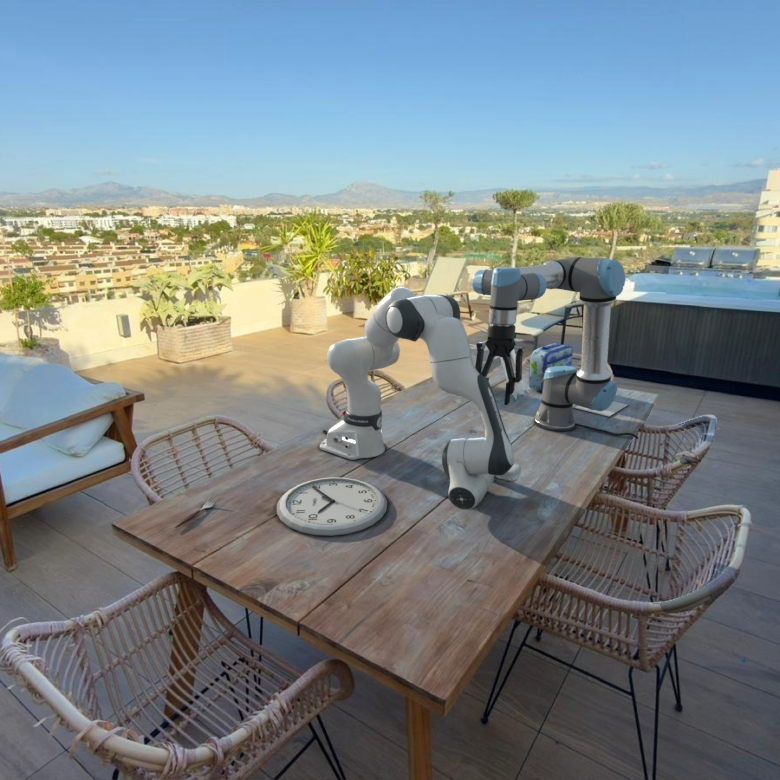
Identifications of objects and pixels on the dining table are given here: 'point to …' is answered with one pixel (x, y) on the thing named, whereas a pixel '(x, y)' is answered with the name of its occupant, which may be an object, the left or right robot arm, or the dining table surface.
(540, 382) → the lunch box
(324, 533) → the wall clock
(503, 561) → the dining table surface
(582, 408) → the invitation card
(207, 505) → the fork
